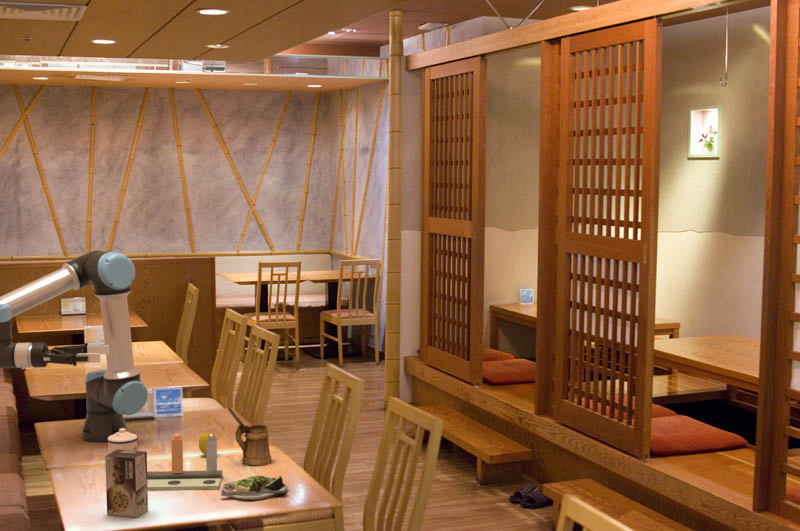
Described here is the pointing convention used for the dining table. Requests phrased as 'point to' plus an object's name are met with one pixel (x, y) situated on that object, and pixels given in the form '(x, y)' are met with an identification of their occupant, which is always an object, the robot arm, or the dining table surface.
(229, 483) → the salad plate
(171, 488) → the hole board
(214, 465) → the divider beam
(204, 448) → the lemon
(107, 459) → the coffee box
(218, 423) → the dining table surface
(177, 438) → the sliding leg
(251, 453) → the wooden mug
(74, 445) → the dining table surface
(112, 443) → the teacup with lid
